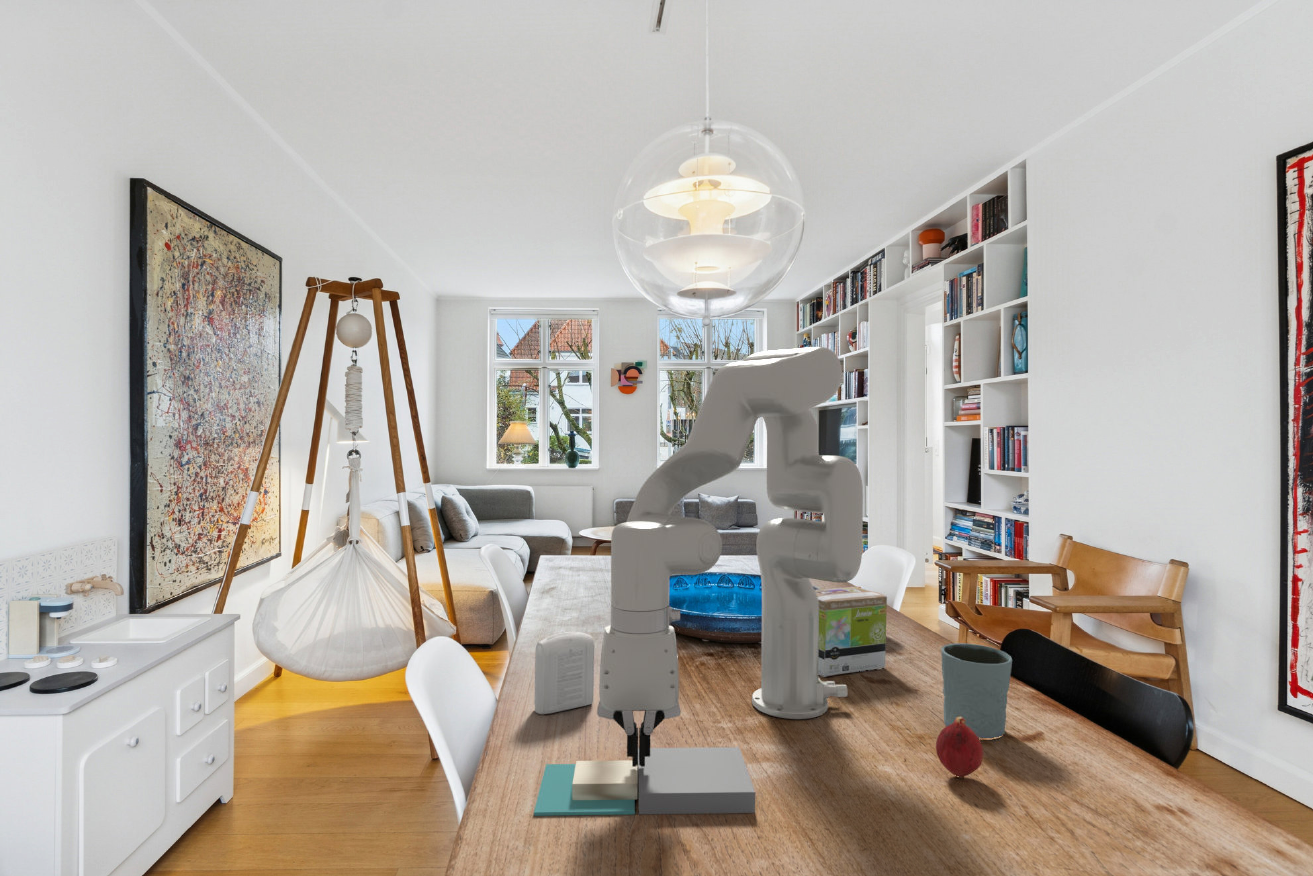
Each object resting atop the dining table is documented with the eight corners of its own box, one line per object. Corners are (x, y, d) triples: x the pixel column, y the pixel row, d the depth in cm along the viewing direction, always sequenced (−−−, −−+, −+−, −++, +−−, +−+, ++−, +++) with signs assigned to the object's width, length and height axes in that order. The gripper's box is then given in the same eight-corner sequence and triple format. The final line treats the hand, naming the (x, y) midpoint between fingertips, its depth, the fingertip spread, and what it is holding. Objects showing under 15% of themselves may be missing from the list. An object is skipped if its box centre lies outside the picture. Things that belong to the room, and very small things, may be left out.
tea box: (825, 679, 128) (825, 601, 129) (794, 663, 138) (794, 590, 138) (887, 669, 134) (888, 594, 135) (853, 654, 144) (854, 584, 144)
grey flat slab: (739, 765, 94) (739, 747, 94) (755, 813, 82) (755, 792, 82) (637, 766, 93) (637, 748, 93) (638, 814, 82) (639, 793, 82)
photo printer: (585, 696, 119) (586, 625, 119) (597, 705, 115) (598, 631, 115) (530, 709, 113) (531, 634, 113) (541, 718, 109) (541, 641, 109)
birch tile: (636, 775, 90) (637, 760, 90) (637, 799, 84) (637, 783, 84) (576, 776, 90) (576, 761, 90) (572, 800, 84) (572, 784, 84)
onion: (980, 793, 87) (980, 730, 87) (932, 780, 90) (932, 720, 90) (985, 774, 92) (985, 715, 92) (940, 763, 95) (940, 706, 95)
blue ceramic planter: (955, 711, 114) (956, 639, 114) (1021, 730, 107) (1021, 653, 107) (929, 728, 107) (930, 652, 107) (997, 750, 99) (998, 668, 99)
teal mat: (633, 766, 93) (634, 763, 93) (634, 814, 81) (634, 811, 81) (546, 767, 93) (546, 764, 93) (533, 815, 81) (533, 812, 81)
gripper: (694, 611, 92) (693, 748, 92) (583, 611, 91) (582, 749, 91) (700, 626, 84) (699, 775, 84) (579, 627, 83) (577, 777, 83)
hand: (638, 761), depth 88 cm, fingers closed
